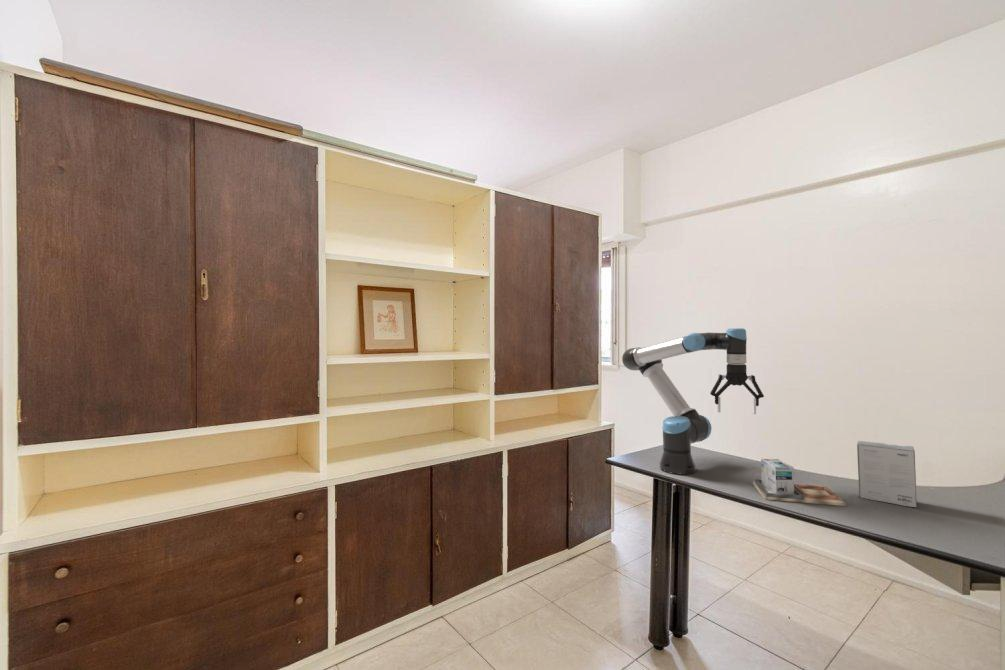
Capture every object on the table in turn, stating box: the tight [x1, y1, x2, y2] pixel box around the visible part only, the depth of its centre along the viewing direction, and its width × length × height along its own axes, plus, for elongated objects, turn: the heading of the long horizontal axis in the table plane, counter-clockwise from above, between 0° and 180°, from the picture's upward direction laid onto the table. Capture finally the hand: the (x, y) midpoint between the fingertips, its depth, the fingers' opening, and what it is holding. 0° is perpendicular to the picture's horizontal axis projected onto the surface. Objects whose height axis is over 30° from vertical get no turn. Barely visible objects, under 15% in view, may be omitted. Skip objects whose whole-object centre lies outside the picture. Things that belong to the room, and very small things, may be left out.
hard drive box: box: [856, 440, 918, 508], centre depth 152 cm, size 16×8×20 cm, turn 47°
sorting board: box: [752, 478, 847, 507], centre depth 159 cm, size 25×16×2 cm, turn 73°
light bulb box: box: [760, 458, 795, 495], centre depth 161 cm, size 11×7×11 cm, turn 175°
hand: (736, 412), depth 181 cm, fingers open, 13 cm apart
